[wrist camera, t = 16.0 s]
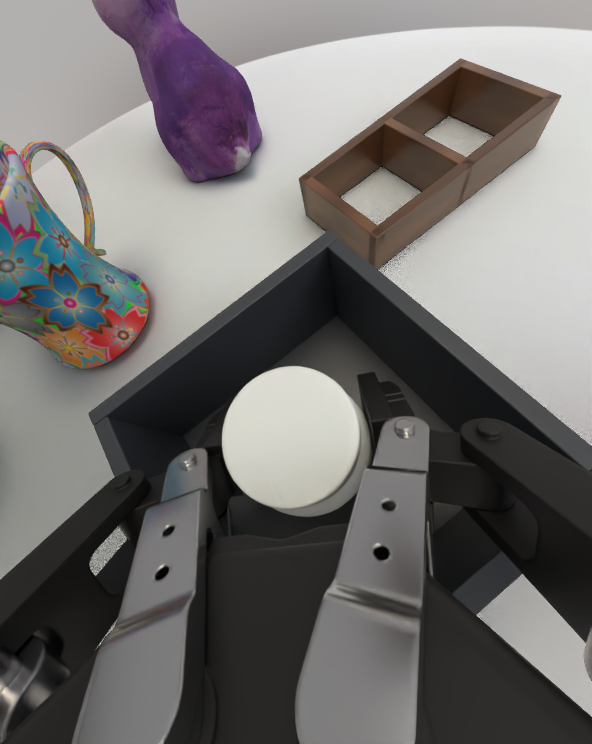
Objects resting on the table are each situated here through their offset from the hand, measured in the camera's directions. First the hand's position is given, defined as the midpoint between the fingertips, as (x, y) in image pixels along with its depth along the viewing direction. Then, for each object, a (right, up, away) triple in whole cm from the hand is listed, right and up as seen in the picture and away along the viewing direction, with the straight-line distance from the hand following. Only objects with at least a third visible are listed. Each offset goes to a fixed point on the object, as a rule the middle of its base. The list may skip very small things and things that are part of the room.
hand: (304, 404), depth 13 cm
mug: (-15, +6, +11) cm, 20 cm away
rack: (+8, +15, +9) cm, 20 cm away
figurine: (-8, +22, +15) cm, 28 cm away
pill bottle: (+1, -3, +3) cm, 5 cm away
